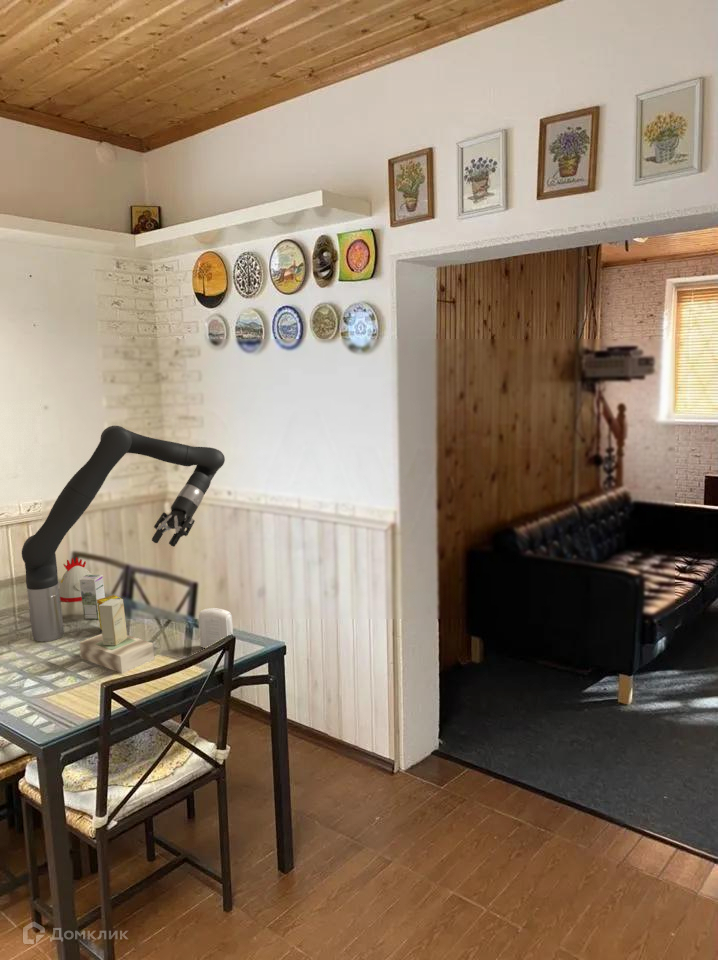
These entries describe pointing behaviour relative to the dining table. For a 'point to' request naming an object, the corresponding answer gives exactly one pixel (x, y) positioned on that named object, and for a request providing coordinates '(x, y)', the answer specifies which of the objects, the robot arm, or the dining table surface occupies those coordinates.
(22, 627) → the dining table surface
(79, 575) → the kitchen timer
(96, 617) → the syrup box
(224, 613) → the photo printer
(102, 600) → the supplement box
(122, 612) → the skincare box
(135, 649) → the step block
